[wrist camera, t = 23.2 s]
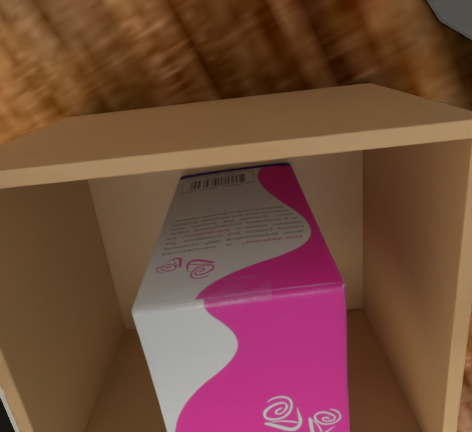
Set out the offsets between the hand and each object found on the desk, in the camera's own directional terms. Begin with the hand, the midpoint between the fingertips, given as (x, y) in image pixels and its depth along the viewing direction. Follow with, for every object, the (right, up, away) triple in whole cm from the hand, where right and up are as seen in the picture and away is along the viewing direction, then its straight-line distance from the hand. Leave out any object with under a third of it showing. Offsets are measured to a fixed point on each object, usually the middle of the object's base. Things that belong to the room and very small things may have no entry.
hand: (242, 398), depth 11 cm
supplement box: (0, +5, +11) cm, 12 cm away
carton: (0, +5, +12) cm, 13 cm away
